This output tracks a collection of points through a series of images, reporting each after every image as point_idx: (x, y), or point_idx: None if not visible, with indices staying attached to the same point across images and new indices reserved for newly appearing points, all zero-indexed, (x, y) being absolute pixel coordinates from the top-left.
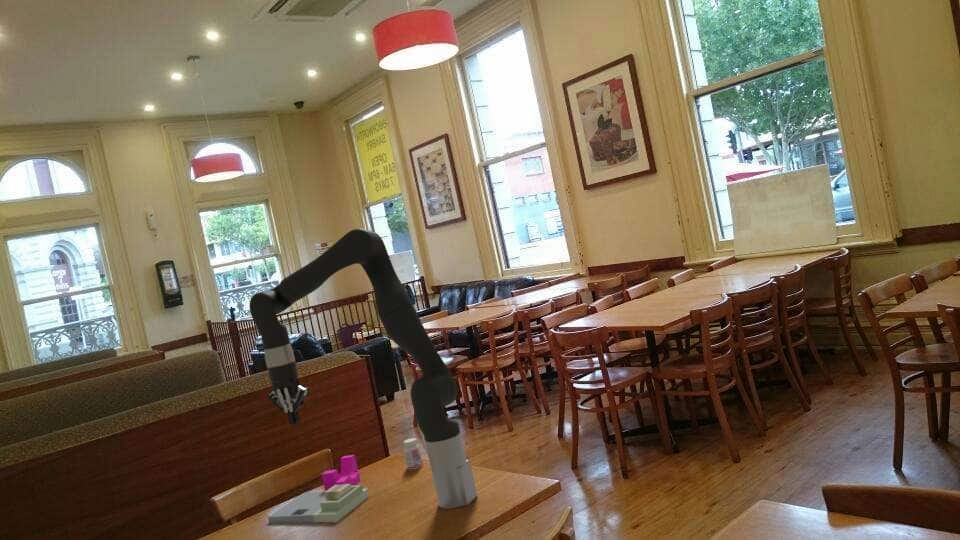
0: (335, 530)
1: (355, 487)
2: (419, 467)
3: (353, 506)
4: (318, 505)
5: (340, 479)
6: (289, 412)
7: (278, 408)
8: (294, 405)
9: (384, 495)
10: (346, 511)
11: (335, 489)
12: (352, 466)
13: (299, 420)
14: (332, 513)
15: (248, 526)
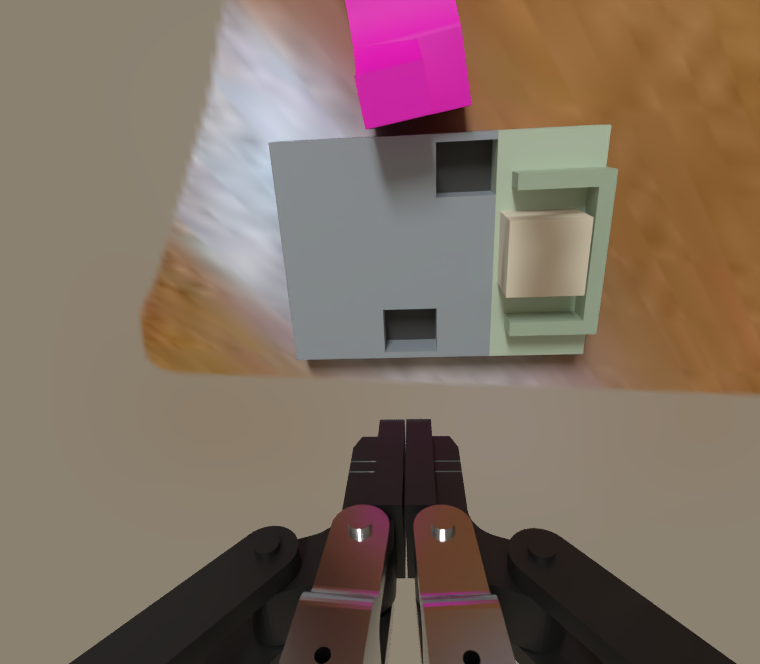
0: (596, 383)
1: (590, 186)
2: None
3: None
4: (456, 282)
5: (430, 68)
6: (400, 573)
7: (248, 640)
8: (518, 658)
9: (664, 110)
10: None
11: (547, 272)
12: None
13: (452, 445)
14: (570, 350)
15: (210, 343)
